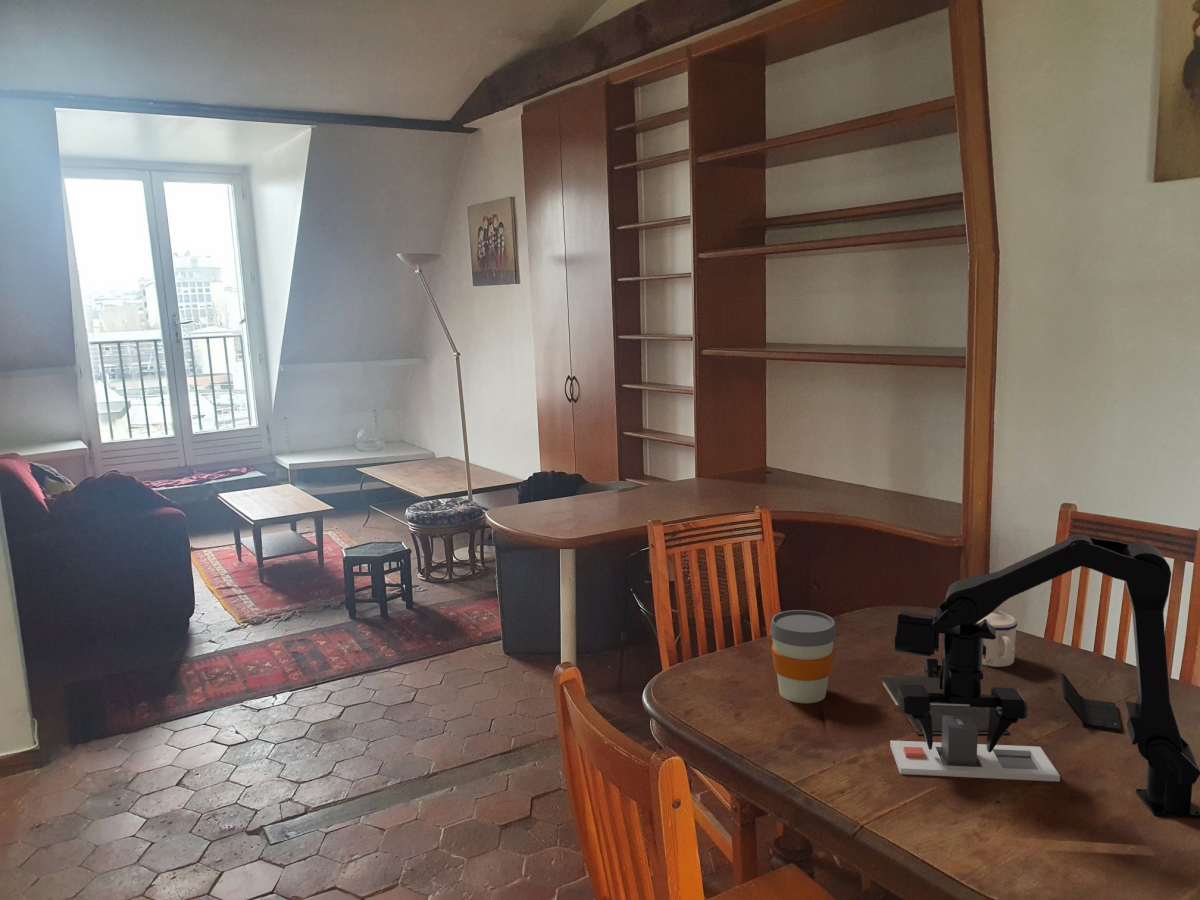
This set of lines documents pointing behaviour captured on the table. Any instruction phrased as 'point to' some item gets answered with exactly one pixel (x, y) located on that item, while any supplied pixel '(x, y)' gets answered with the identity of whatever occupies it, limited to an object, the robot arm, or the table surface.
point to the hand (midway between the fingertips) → (959, 749)
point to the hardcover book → (977, 713)
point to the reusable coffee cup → (802, 654)
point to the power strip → (991, 764)
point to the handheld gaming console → (1091, 709)
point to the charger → (959, 741)
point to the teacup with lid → (1000, 640)
